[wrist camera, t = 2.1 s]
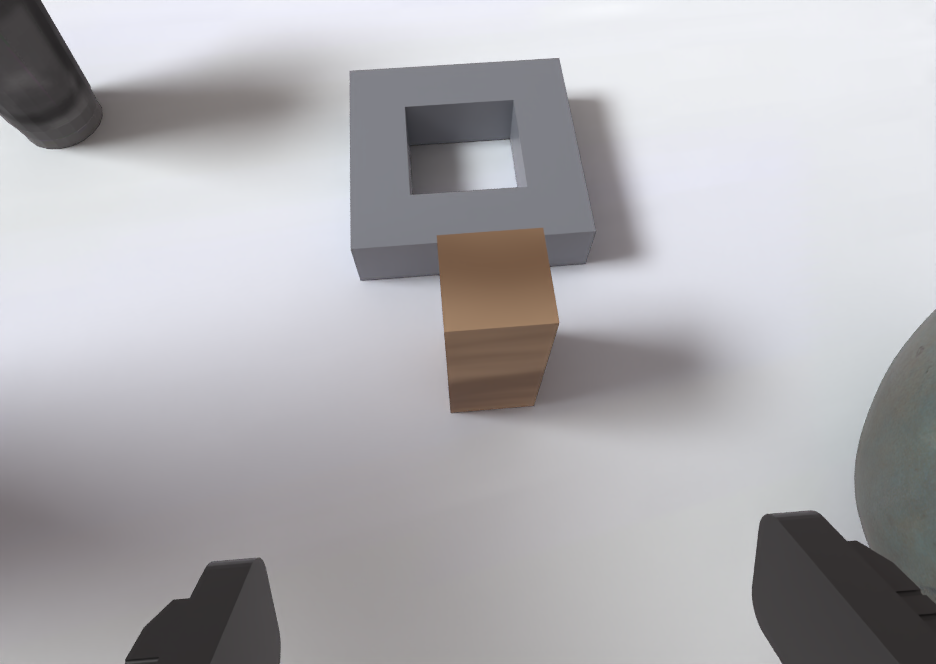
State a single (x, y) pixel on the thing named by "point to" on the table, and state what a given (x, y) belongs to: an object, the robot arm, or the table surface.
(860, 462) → the flask
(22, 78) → the beverage cup
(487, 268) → the peg
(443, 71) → the socket
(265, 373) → the table surface
